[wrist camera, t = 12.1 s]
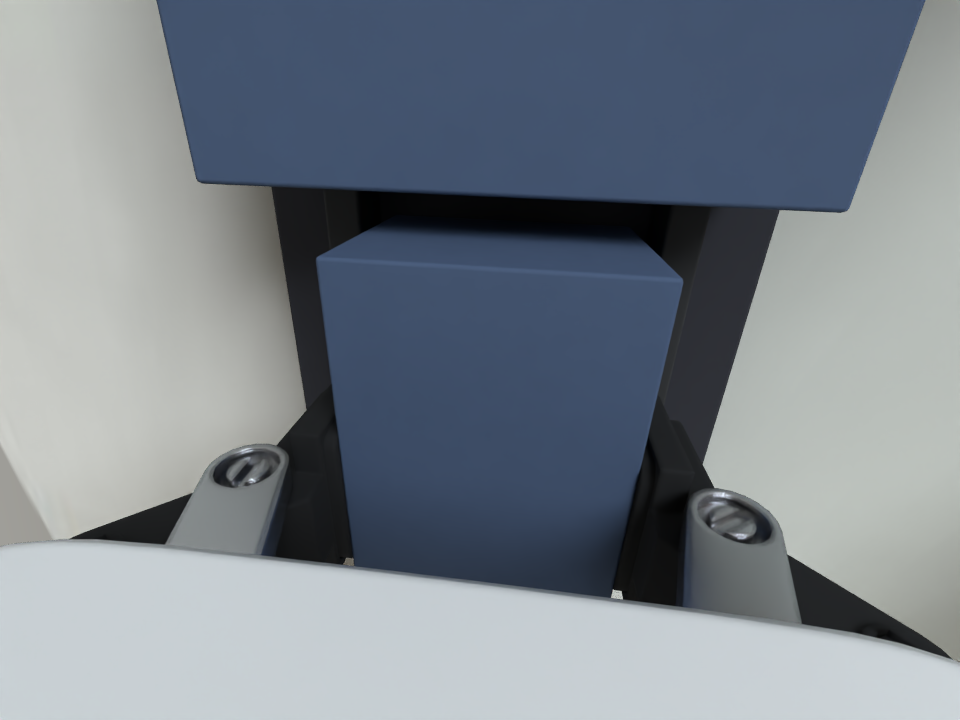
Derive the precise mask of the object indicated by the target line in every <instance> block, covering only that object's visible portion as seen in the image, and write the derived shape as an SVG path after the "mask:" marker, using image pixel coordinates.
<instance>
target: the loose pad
mask: <svg viewBox="0 0 960 720" xmlns="http://www.w3.org/2000/svg"><path fill="white" fill-rule="evenodd" d="M316 266H317V274H318V282H319V290H320V297H321V305H322V313H323V321H324V329H325V337H326V345H327V353H328V361H329V369H330V377H331V385H332V393H333V400H334V408H335V416H336V424H337V432H338V440H339V448H340V456H341V464H342V472H343V480H344V488H345V496H346V503H347V511H348V519H349V527H350V535H351V543H352V551H353V559H354V566H356V567H365V568H373V569H381V570H389V571H398V572H406V573H414V574H422V575H431V576H439V577H447V578H455V579H463V580H472V581H480V582H488V583H496V584H504V585H512V586H520V587H528V588H536V589H544V590H552V591H560V592H568V593H576V594H583V595H591V596H599V597H607V598H611V595H612V590H613V586H614V581H615V577H616V573H617V568H618V564H619V560H620V555H621V551H622V547H623V542H624V538H625V534H626V529H627V525H628V521H629V516H630V512H631V508H632V503H633V499H634V495H635V490H636V486H637V482H638V477H639V473H640V469H641V464H642V460H643V456H644V452H645V447H646V443H647V439H648V434H649V430H650V425H651V421H652V417H653V412H654V408H655V404H656V399H657V395H658V391H659V386H660V382H661V378H662V373H663V369H664V365H665V360H666V356H667V352H668V347H669V343H670V339H671V334H672V330H673V326H674V321H675V317H676V313H677V308H678V304H679V300H680V295H681V291H682V287H683V279H682V278H681V277H680V276H679V275H678V274H677V273H676V272H675V271H674V270H673V269H672V268H671V267H670V266H669V265H668V264H667V263H666V262H665V261H664V260H663V259H662V258H661V257H660V256H659V255H658V254H656V253H655V252H654V251H653V250H652V249H651V248H650V247H649V246H648V245H647V244H646V243H645V242H644V241H643V240H642V239H641V238H640V237H639V236H638V235H637V234H636V233H635V232H634V231H633V230H632V229H631V228H629V227H625V226H605V225H585V224H565V223H545V222H525V221H505V220H485V219H465V218H446V217H426V216H406V215H396V216H393V217H392V218H390V219H388V220H386V221H384V222H382V223H380V224H378V225H376V226H375V227H373V228H371V229H369V230H367V231H365V232H363V233H361V234H360V235H358V236H356V237H354V238H352V239H350V240H348V241H346V242H344V243H343V244H341V245H339V246H337V247H335V248H333V249H331V250H329V251H327V252H326V253H324V254H322V255H320V256H318V257H317V258H316Z"/></svg>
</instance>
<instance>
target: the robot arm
mask: <svg viewBox="0 0 960 720" xmlns="http://www.w3.org/2000/svg"><path fill="white" fill-rule="evenodd" d="M346 558H353V551H352V543H351V535H350V527H349V519H348V511H347V503H346V496H345V488H344V480H343V472H342V464H341V456H340V448H339V440H338V432H337V424H336V416H335V408H334V400H333V393H332V385H331V384H330V386H329V387H328V388H327V389H326V390H325V391H324V392H322V393H321V394H320V395H319V397H318V398H317V399H316V400H315V401H314V402H313V404H312V405H311V406H310V407H309V408H308V409H307V411H306V412H305V413H304V414H303V415H302V416H301V418H300V419H299V420H298V421H297V422H296V423H295V425H294V426H293V427H292V428H291V429H290V430H289V432H288V433H287V434H286V435H285V436H284V437H283V438H282V440H281V441H280V442H279V443H278V444H277V445H271V444H252V445H246V446H242V447H239V448H236V449H233V450H231V451H229V452H227V453H225V454H223V455H221V456H219V457H218V458H217V459H215V460H214V461H213V462H211V464H210V465H209V466H208V467H207V469H206V470H205V472H204V473H203V475H202V477H201V479H200V481H199V483H198V484H197V486H196V488H195V490H194V492H193V493H191V494H189V495H186V496H183V497H180V498H178V499H175V500H172V501H169V502H167V503H164V504H161V505H158V506H156V507H153V508H150V509H147V510H145V511H142V512H139V513H136V514H134V515H131V516H128V517H125V518H123V519H120V520H117V521H114V522H112V523H109V524H106V525H103V526H101V527H98V528H95V529H92V530H90V531H87V532H84V533H82V534H79V535H77V536H75V537H73V538H70V539H59V540H48V541H36V542H24V543H14V544H8V545H3V546H0V720H960V662H958V661H955V660H953V659H952V658H951V657H949V656H948V655H947V654H946V653H945V652H944V651H943V650H942V649H941V648H939V647H938V646H936V645H935V644H933V643H932V642H931V641H929V640H928V639H926V638H925V637H923V636H922V635H920V634H919V633H917V632H915V631H914V630H912V629H910V628H909V627H907V626H905V625H904V624H902V623H900V622H899V621H897V620H895V619H894V618H892V617H890V616H889V615H887V614H885V613H884V612H882V611H880V610H879V609H877V608H875V607H874V606H872V605H871V604H869V603H867V602H866V601H864V600H862V599H861V598H859V597H857V596H856V595H854V594H852V593H851V592H849V591H847V590H846V589H844V588H842V587H841V586H839V585H837V584H836V583H834V582H832V581H831V580H829V579H827V578H826V577H824V576H822V575H821V574H819V573H817V572H816V571H814V570H812V569H811V568H809V567H807V566H806V565H804V564H802V563H801V562H799V561H797V560H796V559H794V558H792V557H791V556H789V555H787V551H786V547H785V542H784V537H783V533H782V530H781V528H780V525H779V523H778V521H777V520H776V519H775V518H774V517H773V515H772V514H771V513H770V512H769V511H768V510H767V509H765V508H764V507H763V506H761V505H760V504H759V503H757V502H755V501H754V500H752V499H750V498H748V497H746V496H744V495H741V494H738V493H736V492H733V491H729V490H724V489H718V488H714V486H713V484H712V482H711V480H710V478H709V476H708V474H707V472H706V471H705V469H704V467H703V465H702V463H701V461H700V459H699V457H698V455H697V453H696V451H695V449H694V447H693V445H692V443H691V441H690V439H689V437H688V435H687V433H686V431H685V429H684V427H683V425H682V424H681V422H680V421H677V420H670V418H669V416H668V414H667V412H666V410H665V408H664V406H663V403H662V401H661V399H660V397H659V395H657V399H656V404H655V408H654V412H653V417H652V421H651V425H650V430H649V434H648V439H647V443H646V447H645V452H644V456H643V460H642V464H641V469H640V473H639V477H638V482H637V486H636V490H635V495H634V499H633V503H632V508H631V512H630V516H629V521H628V525H627V529H626V534H625V538H624V542H623V547H622V551H621V555H620V560H619V564H618V568H617V573H616V577H615V581H614V586H613V589H614V590H618V591H622V596H623V600H622V599H615V598H607V597H599V596H591V595H583V594H576V593H568V592H560V591H552V590H544V589H536V588H528V587H520V586H512V585H504V584H496V583H488V582H480V581H472V580H463V579H455V578H447V577H439V576H431V575H422V574H414V573H406V572H398V571H389V570H381V569H373V568H365V567H356V566H347V565H343V564H344V561H345V559H346Z"/></svg>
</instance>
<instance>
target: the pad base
mask: <svg viewBox="0 0 960 720" xmlns="http://www.w3.org/2000/svg"><path fill="white" fill-rule="evenodd" d="M156 1H157V5H158V9H159V14H160V18H161V23H162V27H163V32H164V36H165V41H166V45H167V50H168V54H169V59H170V63H171V68H172V72H173V77H174V81H175V86H176V90H177V95H178V99H179V103H180V108H181V112H182V117H183V121H184V126H185V130H186V135H187V139H188V144H189V148H190V153H191V157H192V162H193V166H194V171H195V175H196V179H197V181H198V182H201V183H203V184H225V185H247V186H269V187H272V193H273V199H274V206H275V212H276V218H277V225H278V231H279V237H280V244H281V250H282V256H283V263H284V269H285V275H286V282H287V288H288V294H289V301H290V307H291V313H292V320H293V326H294V332H295V339H296V345H297V352H298V358H299V364H300V371H301V377H302V383H303V390H304V396H305V402H306V409H308V408H309V407H310V406H311V405H312V404H313V402H314V401H315V400H316V399H317V398H318V397H319V395H320V394H321V393H322V392H324V391H325V390H326V389H327V388H328V387H329V386H330V384H331V377H330V369H329V361H328V353H327V345H326V337H325V329H324V321H323V313H322V305H321V297H320V290H319V282H318V274H317V266H316V258H317V257H318V256H320V255H322V254H324V253H326V252H327V251H329V250H331V249H333V248H335V247H337V246H339V245H341V244H343V243H344V242H346V241H348V240H350V239H352V238H354V237H356V236H358V235H360V234H361V233H363V232H365V231H367V230H369V229H371V228H373V227H375V226H376V225H378V224H380V223H382V222H384V221H386V220H388V219H390V218H392V217H393V216H396V215H406V216H426V217H446V218H465V219H485V220H505V221H525V222H545V223H565V224H585V225H605V226H625V227H629V228H631V229H632V230H633V231H634V232H635V233H636V234H637V235H638V236H639V237H640V238H641V239H642V240H643V241H644V242H645V243H646V244H647V245H648V246H649V247H650V248H651V249H652V250H653V251H654V252H655V253H656V254H658V255H659V256H660V257H661V258H662V259H663V260H664V261H665V262H666V263H667V264H668V265H669V266H670V267H671V268H672V269H673V270H674V271H675V272H676V273H677V274H678V275H679V276H680V277H681V278H682V279H683V287H682V291H681V295H680V300H679V304H678V308H677V313H676V317H675V321H674V326H673V330H672V334H671V339H670V343H669V347H668V352H667V356H666V360H665V365H664V369H663V373H662V378H661V382H660V386H659V391H658V395H659V397H660V399H661V401H662V403H663V406H664V408H665V410H666V412H667V414H668V416H669V418H670V420H677V421H680V422H681V424H682V425H683V427H684V429H685V431H686V433H687V435H688V437H689V439H690V441H691V443H692V445H693V447H694V449H695V451H696V453H697V455H698V457H699V459H700V461H701V463H702V464H703V461H704V458H705V454H706V451H707V448H708V444H709V441H710V438H711V435H712V431H713V428H714V425H715V421H716V418H717V415H718V411H719V408H720V405H721V402H722V398H723V395H724V392H725V388H726V385H727V382H728V379H729V375H730V372H731V369H732V365H733V362H734V359H735V355H736V352H737V349H738V346H739V342H740V339H741V336H742V332H743V329H744V326H745V322H746V319H747V316H748V313H749V309H750V306H751V303H752V299H753V296H754V293H755V289H756V286H757V283H758V280H759V276H760V273H761V270H762V266H763V263H764V260H765V257H766V253H767V250H768V247H769V243H770V240H771V237H772V233H773V230H774V227H775V224H776V220H777V217H778V214H779V210H793V211H815V212H837V213H841V212H845V211H847V210H848V209H849V207H850V205H851V202H852V199H853V196H854V194H855V191H856V188H857V185H858V183H859V180H860V177H861V175H862V172H863V169H864V166H865V164H866V161H867V158H868V155H869V153H870V150H871V147H872V145H873V142H874V139H875V136H876V134H877V131H878V128H879V125H880V123H881V120H882V117H883V115H884V112H885V109H886V106H887V104H888V101H889V98H890V95H891V93H892V90H893V87H894V84H895V82H896V79H897V76H898V74H899V71H900V68H901V65H902V63H903V60H904V57H905V54H906V52H907V49H908V46H909V44H910V41H911V38H912V35H913V33H914V30H915V27H916V24H917V22H918V19H919V16H920V13H921V11H922V8H923V5H924V3H925V0H156Z"/></svg>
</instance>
